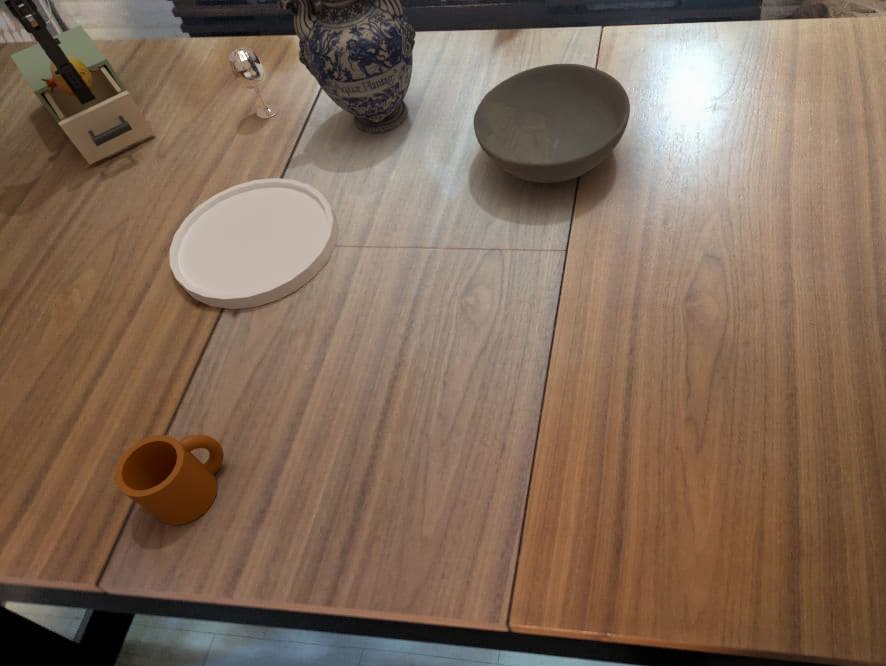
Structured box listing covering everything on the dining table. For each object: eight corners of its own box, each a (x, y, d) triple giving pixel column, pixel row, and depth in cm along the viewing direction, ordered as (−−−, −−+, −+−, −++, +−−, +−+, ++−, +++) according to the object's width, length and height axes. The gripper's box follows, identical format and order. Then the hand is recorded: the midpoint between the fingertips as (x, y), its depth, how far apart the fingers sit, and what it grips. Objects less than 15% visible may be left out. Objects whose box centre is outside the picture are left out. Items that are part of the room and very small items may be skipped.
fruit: (87, 43, 131) (32, 61, 129) (86, 52, 126) (29, 70, 125) (109, 81, 136) (56, 98, 134) (109, 90, 131) (54, 108, 129)
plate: (262, 169, 132) (256, 159, 129) (371, 224, 121) (366, 213, 119) (143, 266, 121) (135, 256, 119) (251, 335, 111) (244, 325, 109)
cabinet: (137, 106, 146) (106, 58, 137) (70, 139, 142) (33, 91, 133) (111, 72, 154) (80, 24, 145) (46, 102, 150) (10, 55, 141)
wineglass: (286, 112, 140) (260, 55, 130) (259, 124, 139) (232, 68, 129) (275, 98, 143) (249, 41, 133) (249, 110, 142) (221, 54, 132)
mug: (249, 487, 96) (217, 457, 89) (166, 538, 93) (126, 511, 86) (225, 442, 101) (193, 409, 93) (145, 488, 98) (105, 459, 90)
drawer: (162, 143, 137) (136, 103, 130) (97, 176, 134) (66, 136, 126) (128, 98, 146) (101, 58, 139) (65, 127, 143) (35, 88, 135)
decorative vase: (330, 159, 132) (268, 9, 108) (323, 100, 141) (264, -49, 118) (442, 133, 133) (404, -21, 109) (427, 76, 142) (390, -76, 119)
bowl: (605, 221, 117) (604, 172, 108) (459, 195, 123) (448, 148, 115) (645, 121, 129) (647, 70, 121) (510, 102, 136) (504, 53, 127)
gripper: (31, -24, 110) (118, 106, 129) (-2, -67, 119) (84, 60, 139) (-17, -4, 108) (79, 125, 127) (-47, -50, 117) (47, 77, 137)
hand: (81, 91), depth 133 cm, fingers closed on fruit, 7 cm apart
